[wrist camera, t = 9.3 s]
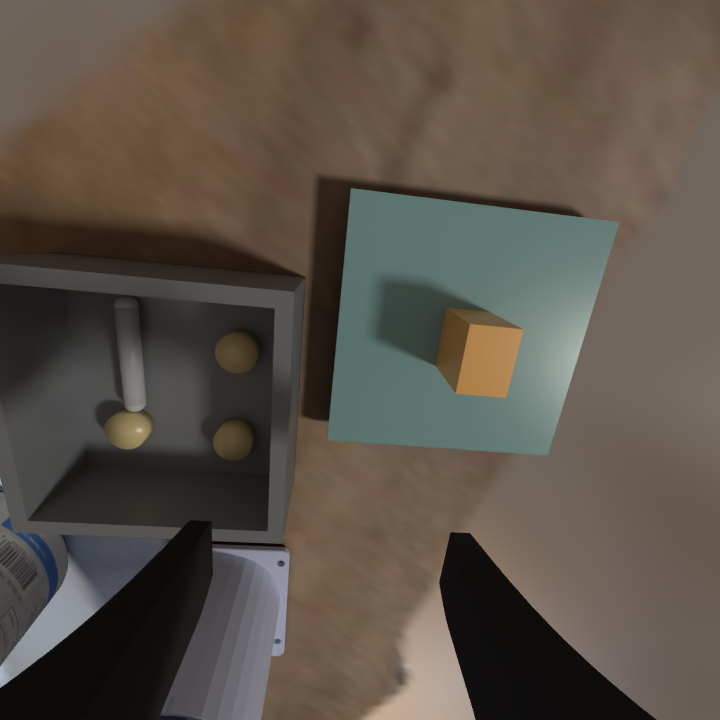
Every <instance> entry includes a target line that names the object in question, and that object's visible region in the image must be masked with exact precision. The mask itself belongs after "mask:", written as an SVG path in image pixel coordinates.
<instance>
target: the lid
mask: <svg viewBox="0 0 720 720" xmlns="http://www.w3.org/2000/svg"><path fill="white" fill-rule="evenodd" d="M619 223H620V222H614V221H606V220H598V219H590V218H582V217H574V216H567V215H559V214H551V213H543V212H535V211H527V210H519V209H511V208H504V207H496V206H488V205H480V204H472V203H464V202H456V201H448V200H441V199H433V198H425V197H417V196H409V195H401V194H393V193H385V192H378V191H370V190H362V189H354V188H351V190H350V201H349V212H348V222H347V233H346V244H345V254H344V265H343V276H342V286H341V297H340V308H339V318H338V329H337V339H336V350H335V361H334V371H333V382H332V393H331V403H330V414H329V425H328V437H327V440H335V441H349V442H364V443H378V444H392V445H406V446H421V447H435V448H449V449H463V450H477V451H492V452H506V453H520V454H534V455H535V454H536V455H548V452H549V449H550V446H551V443H552V439H553V436H554V433H555V430H556V427H557V423H558V420H559V417H560V413H561V410H562V407H563V404H564V401H565V397H566V394H567V391H568V388H569V384H570V381H571V378H572V375H573V371H574V368H575V365H576V362H577V359H578V355H579V352H580V349H581V346H582V342H583V339H584V336H585V333H586V329H587V326H588V323H589V320H590V316H591V313H592V310H593V307H594V303H595V300H596V297H597V294H598V291H599V287H600V284H601V281H602V278H603V274H604V271H605V268H606V265H607V261H608V258H609V255H610V252H611V248H612V245H613V242H614V239H615V235H616V232H617V229H618V226H619Z"/></svg>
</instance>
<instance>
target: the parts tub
mask: <svg viewBox="0 0 720 720" xmlns="http://www.w3.org/2000/svg"><path fill="white" fill-rule="evenodd" d="M305 281H306V277H299V276H289V275H278V274H268V273H258V272H248V271H238V270H228V269H218V268H207V267H197V266H187V265H177V264H167V263H157V262H146V261H136V260H126V259H116V258H106V257H96V256H86V255H75V254H65V253H55V252H49V253H34V254H18V255H3V256H0V478H1V482H2V487H3V491H4V495H5V499H6V504H7V508H8V512H9V516H10V521H11V525H12V529H13V533H31V534H55V535H79V536H104V537H128V538H153V539H172V538H173V537H174V536H175V535H176V534H177V533H178V532H179V531H180V530H181V529H182V527H183V526H184V525H185V524H186V523H187V522H189V521H190V520H197V521H212V541H226V542H250V543H275V544H282V543H283V537H284V532H285V526H286V521H287V516H288V510H289V505H290V499H291V494H292V489H293V483H294V476H295V458H296V440H297V423H298V405H299V387H300V369H301V352H302V334H303V316H304V298H305Z"/></svg>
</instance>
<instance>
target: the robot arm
mask: <svg viewBox="0 0 720 720" xmlns="http://www.w3.org/2000/svg"><path fill="white" fill-rule="evenodd" d="M289 559H290V552H289V550H288V549H287V548H285V547H270V546H245V545H220V544H212V521H197V520H190V521H189V522H187V523H186V524H185V525H184V526H183V527H182V529H181V530H180V531H179V532H178V533H177V534H176V535H175V536H174V537H173V538H172V539H171V540H170V541H169V542H168V543H164V544H163V545H162V546H161V547H160V549H159V553H158V554H157V555H156V556H155V557H154V558H153V559H152V560H151V561H150V562H149V563H148V564H147V565H146V566H145V567H144V568H143V569H142V570H141V571H140V572H139V573H138V574H137V575H136V576H135V577H134V578H133V579H132V580H131V581H130V582H129V583H127V584H126V585H125V586H124V587H123V588H122V589H121V590H120V591H119V592H118V593H117V594H116V595H114V596H113V597H112V598H111V599H110V600H109V601H108V602H107V603H106V604H105V605H104V606H102V607H101V608H100V609H99V610H98V611H97V612H96V613H95V614H94V615H92V617H90V618H89V619H88V620H87V621H85V622H84V623H83V624H82V625H81V626H80V627H78V628H77V629H76V630H75V631H74V632H73V633H71V634H70V635H69V636H68V637H66V638H65V639H64V640H63V641H61V642H60V643H59V644H58V645H56V646H55V647H54V648H53V649H52V650H50V651H49V652H48V653H46V654H45V655H44V656H43V657H41V658H40V659H38V660H37V661H36V662H35V663H33V664H32V665H31V666H29V667H28V668H27V669H25V670H24V671H23V672H21V673H20V674H19V675H18V676H16V677H15V678H13V679H12V680H11V681H9V682H8V683H7V684H5V685H4V686H2V687H1V688H0V720H261V717H262V711H263V705H264V699H265V693H266V687H267V680H268V674H269V668H270V662H271V656H280V655H282V654H283V652H284V647H285V630H286V612H287V595H288V577H289ZM280 561H283V562H280ZM439 584H440V589H441V595H442V601H443V606H444V611H445V616H446V621H447V624H448V628H449V631H450V635H451V638H452V642H453V645H454V648H455V652H456V655H457V658H458V662H459V665H460V668H461V672H462V675H463V678H464V681H465V685H466V688H467V692H468V695H469V698H470V701H471V705H472V708H473V711H474V716H475V719H476V720H656V719H655V718H653V717H652V716H651V715H650V714H648V713H647V712H646V711H645V710H643V709H642V708H641V707H639V706H638V705H637V704H636V703H635V702H634V701H632V700H631V699H630V698H629V697H628V696H626V695H625V694H624V693H623V692H622V691H620V690H619V689H618V688H617V687H616V686H615V685H613V684H612V683H611V682H610V681H609V680H607V679H606V678H605V677H604V676H603V675H602V674H601V673H599V672H598V671H597V670H596V669H595V668H594V667H593V666H592V665H591V664H589V663H588V662H587V661H586V660H585V659H584V658H583V657H582V656H581V655H580V654H579V653H578V652H577V651H576V650H574V649H573V648H572V647H571V646H570V645H569V644H568V643H567V642H566V641H565V640H564V639H563V638H562V637H561V636H560V635H559V634H558V633H557V632H556V631H555V630H554V629H553V628H552V627H551V626H550V625H549V624H548V623H547V622H546V621H545V620H544V619H543V618H542V616H541V615H540V614H539V613H538V612H537V611H536V610H535V609H534V608H533V607H532V606H531V605H530V604H529V603H528V601H527V600H526V599H525V598H524V597H523V596H522V595H521V594H520V592H519V591H518V590H517V589H516V588H515V587H514V586H513V585H512V583H511V582H510V581H509V580H508V579H507V577H506V576H505V575H504V574H503V573H502V572H501V571H500V569H499V568H498V567H497V566H496V564H495V563H494V562H493V561H492V560H491V559H490V557H489V556H488V555H487V553H486V552H485V551H484V550H483V549H482V547H481V546H480V545H479V544H478V543H477V541H476V540H475V539H474V538H473V536H472V535H471V534H470V533H454V532H451V533H450V537H449V542H448V546H447V550H446V555H445V559H444V564H443V568H442V573H441V577H440V581H439Z"/></svg>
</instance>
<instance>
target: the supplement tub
mask: <svg viewBox="0 0 720 720" xmlns="http://www.w3.org/2000/svg"><path fill="white" fill-rule="evenodd" d="M67 568H68V552H67V548H66V544H65V542H64V540H63V537H62V536H61V535H55V534H31V533H13V529H12V525H11V521H10V516H9V512H8V508H7V504H6V499H5V495H4V493H3V492H0V666H1V665H2V663H3V662H4V661H5V659H6V658H7V656H8V655H9V654H10V652H11V651H12V650H13V649H14V647H15V646H16V645H17V643H18V642H19V641H20V639H21V638H22V637H23V636H24V634H25V633H26V632H27V630H28V629H29V627H30V626H31V625H32V624H33V622H34V621H35V620H36V618H37V617H38V616H39V615H40V613H41V612H42V611H43V609H44V608H45V607H46V605H47V604H48V603H49V601H50V600H51V599H52V597H53V596H54V595H55V594H56V592H57V591H58V590H59V588H60V587H61V585H62V583H63V581H64V578H65V576H66V572H67Z"/></svg>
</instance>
